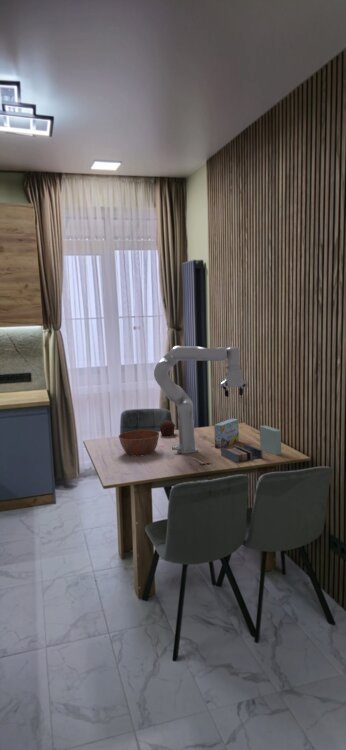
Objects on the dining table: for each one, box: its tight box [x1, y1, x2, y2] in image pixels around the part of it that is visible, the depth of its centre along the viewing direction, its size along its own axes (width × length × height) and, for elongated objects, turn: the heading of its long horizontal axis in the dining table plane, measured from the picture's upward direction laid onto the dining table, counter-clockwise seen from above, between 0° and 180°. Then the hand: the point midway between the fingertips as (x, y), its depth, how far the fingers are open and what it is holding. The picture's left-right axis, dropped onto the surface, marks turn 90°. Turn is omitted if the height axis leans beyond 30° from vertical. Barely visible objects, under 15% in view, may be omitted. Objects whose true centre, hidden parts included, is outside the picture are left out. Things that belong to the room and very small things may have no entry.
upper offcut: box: [226, 447, 247, 458], centre depth 293 cm, size 6×14×2 cm, turn 23°
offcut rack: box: [220, 443, 264, 464], centre depth 294 cm, size 17×18×6 cm
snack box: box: [213, 418, 240, 449], centre depth 325 cm, size 21×6×15 cm, turn 143°
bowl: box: [118, 429, 160, 457], centre depth 317 cm, size 25×25×11 cm
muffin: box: [158, 420, 176, 437], centre depth 359 cm, size 12×11×10 cm
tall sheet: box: [259, 425, 282, 456], centre depth 302 cm, size 4×16×15 cm, turn 24°
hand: (233, 395), depth 309 cm, fingers open, 9 cm apart
